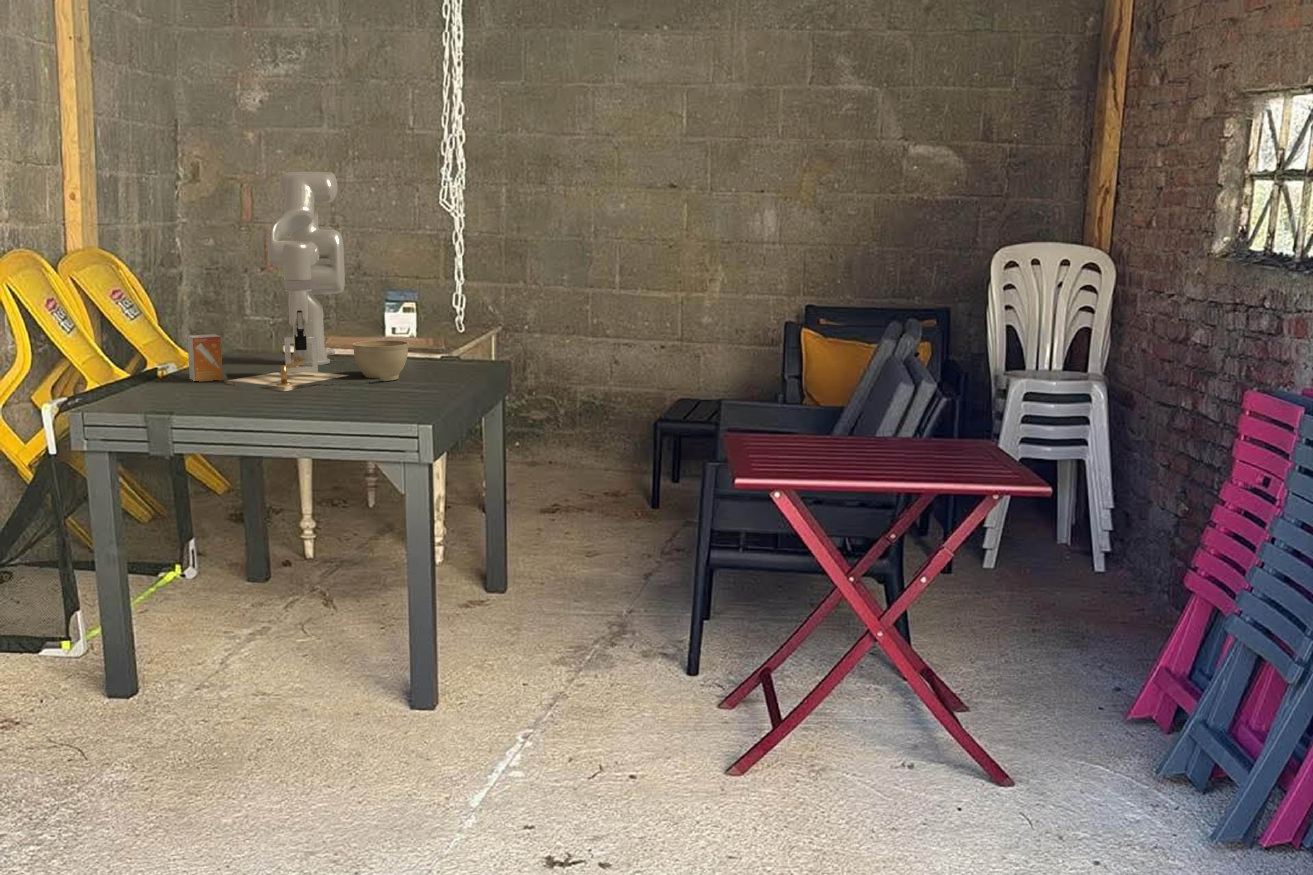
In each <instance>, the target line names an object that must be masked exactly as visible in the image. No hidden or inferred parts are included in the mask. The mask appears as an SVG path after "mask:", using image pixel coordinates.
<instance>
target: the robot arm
mask: <svg viewBox="0 0 1313 875" xmlns="http://www.w3.org/2000/svg"><path fill="white" fill-rule="evenodd" d="M338 186H339V185H338V180H337V177H336V174H334V172H330V171H329V172H328V171H289V172H288V171H287V172H285V173H282V174H281V175H280V177H279V188H280V192H281V195H282V199H283V200H284V214H282V215H281V216H280V217H279V218H278V219H277V220H276V221H275V222H274V223H273V225H272V226H271V228H270V230H269V233H268V237H267V238H268V240H267V241H268V242H267V243H268V244H267V257H268V258H267V259H268V260H269V264H271V265H272V266H274V267H278V268H281V267H282V268H283V278H284V279H283V280H284V292H288V318H289V320H288V321H289V325H290V326H291V327H292V335H293V336H292V337H295V343H293V354H299V356H301V357H302V358H304V359H305V360H306V364H302V365H301V366H312V349H311V343H306V337H317V357H318V366H321V365H322V366H323V365H327V364H330V362H331V359H330V358H328V357H329V356H333V355H335V353H336V351H335V349H334V348H329V349H328V348H327V347H325V330H324V329H325V328H324V309H323V306H322V303H320V302H319V300H318V299H317V298H316V296H315V295H335V294H337V295H338V294H341V293H342V292H344V289H345V285H346V275H345V271H346V269H345V250H344V249H345V248H344V240H343V236H342V233H341V232H339V231H338V230H336V229H325V228H324V229H320V227H319V214H318V211H317V210H316V208H315V203H331V202H334V201H335V199H336V197H337V193H338ZM287 235H290V237H291V239H290V240H282V239H283V237H286V236H287ZM319 260H322V261H325V260H326V261H328V262H329V263H318V261H319ZM291 363H293V358H291Z"/></svg>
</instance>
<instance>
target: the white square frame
mask: <svg viewBox="0 0 1313 875" xmlns="http://www.w3.org/2000/svg"><path fill="white" fill-rule="evenodd" d="M283 339H284V341H283V342H284V361H285V365H286V364H290V363H291V359H292V355H291V354H292V353H291V344H294V343H295V337H293V336H284V337H283ZM306 343H311V349H312V365H304V366H302V365H299V366H295V367H292V368H288V369H287V373H297V372H319V365H318V357H317V337H306Z"/></svg>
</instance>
